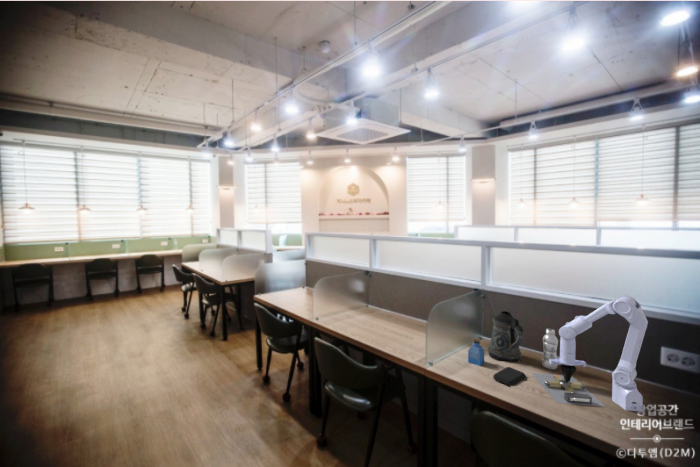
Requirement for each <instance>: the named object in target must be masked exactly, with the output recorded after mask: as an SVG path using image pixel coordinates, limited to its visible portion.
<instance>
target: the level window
mask: <svg viewBox="0 0 700 467" xmlns="http://www.w3.org/2000/svg"><path fill="white" fill-rule="evenodd" d="M564 399H565V400H566V401H567V402H569V403H582V404H592V397H591V396H590V395H589V394H580V393H566V392H564Z"/></svg>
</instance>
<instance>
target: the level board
mask: <svg viewBox="0 0 700 467" xmlns="http://www.w3.org/2000/svg"><path fill="white" fill-rule="evenodd" d="M531 375H532V377H534V378H535V380H537V382H538V383H539V384H540V386H542V388H543V389H544V390H545V391H546V393H548V395H549V396H550V397H551V398H552V399H553V400H554V402H555V403H557V404H571V405H580V406H581V405H582V406H594V407H605V408H606V405H604V403H602V401H600V400H599V399H598V398H597V397H596V396H595V395H594V394H593V393H592V392H590V391H589V390H588V389H587V388H586V387H585V389H573V390H574V391H575V392H576V393H580V394H589V395H590V396H591V397H592V404H582V403H569V402H567V401H566V400H565V399H564V392H566V393H568V392H567V391H566V390H564V389H561V388H556V387H548V386H546V385H545V381H556V380H555V378H554V375H555V374H554V373H553V374H551V373H550V374H549V373H539V372H538V373H534V372H531ZM558 375H559V376H560V377H561V378H562V379H563V380H564V376H563V374H558ZM565 381H566V380H565ZM570 382H573V383H580V382H579V381H578V380H577V379H576V378H575V377H574V376H572V377H571V379H570Z"/></svg>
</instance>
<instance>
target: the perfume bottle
mask: <svg viewBox="0 0 700 467" xmlns="http://www.w3.org/2000/svg"><path fill="white" fill-rule="evenodd" d="M480 341H481V340H480V339H478V338H473V340H472V345H471V346H470V347H469V349H468V350H467V353H468V354H467V356H468V357H467V363H469V364H472V365H476V366H479V367H481V365H483V364H484V363H485V349H484V348H483V346H482V345H481V342H480Z"/></svg>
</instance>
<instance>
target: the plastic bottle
mask: <svg viewBox="0 0 700 467" xmlns="http://www.w3.org/2000/svg"><path fill="white" fill-rule="evenodd" d="M542 344H543V352H542V353H543V355H542V359H541V364H542V366H543V368H546V369H547V370H548V369H549V370H556V369H557V368H558V366H559V365H556V364H553V365H551V364H550V363H549V359H557V357H558V356H557V350H558V345H559V339H558V338H557V336H556V330H555V329H553V328H545V334H544V335H543V337H542Z"/></svg>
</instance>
